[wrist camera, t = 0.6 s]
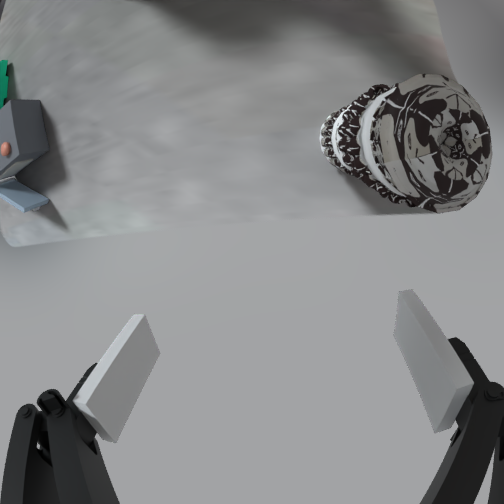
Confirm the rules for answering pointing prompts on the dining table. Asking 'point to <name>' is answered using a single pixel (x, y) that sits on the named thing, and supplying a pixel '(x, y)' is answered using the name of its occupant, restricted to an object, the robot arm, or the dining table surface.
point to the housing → (21, 135)
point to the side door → (21, 195)
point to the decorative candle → (413, 142)
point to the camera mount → (3, 81)
